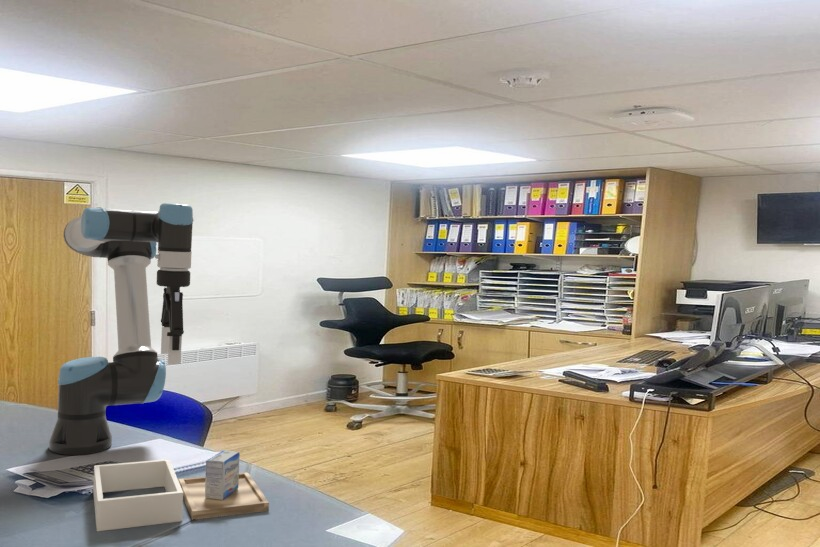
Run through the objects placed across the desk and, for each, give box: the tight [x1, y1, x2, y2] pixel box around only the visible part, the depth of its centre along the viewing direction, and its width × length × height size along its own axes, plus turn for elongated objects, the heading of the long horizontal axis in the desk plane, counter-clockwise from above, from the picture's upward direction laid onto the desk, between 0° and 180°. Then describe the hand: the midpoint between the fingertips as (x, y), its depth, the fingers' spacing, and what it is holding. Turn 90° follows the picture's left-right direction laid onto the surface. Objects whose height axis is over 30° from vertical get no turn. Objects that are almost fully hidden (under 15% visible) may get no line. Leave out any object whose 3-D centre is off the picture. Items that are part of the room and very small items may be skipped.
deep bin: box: [92, 458, 184, 532], centre depth 151 cm, size 22×16×6 cm
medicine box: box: [204, 450, 240, 500], centre depth 158 cm, size 8×4×9 cm, turn 168°
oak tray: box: [178, 472, 270, 521], centre depth 158 cm, size 20×16×2 cm
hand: (170, 358), depth 167 cm, fingers open, 13 cm apart
